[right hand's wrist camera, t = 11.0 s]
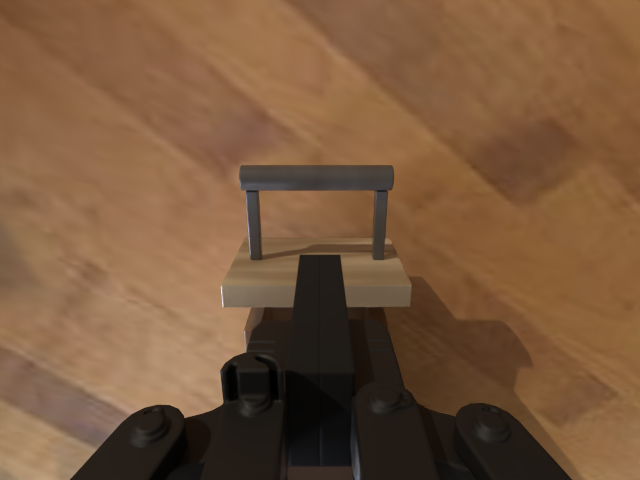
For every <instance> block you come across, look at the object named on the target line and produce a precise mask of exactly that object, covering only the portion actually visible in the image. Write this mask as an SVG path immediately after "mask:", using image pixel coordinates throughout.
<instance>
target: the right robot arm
mask: <svg viewBox="0 0 640 480" xmlns="http://www.w3.org/2000/svg"><path fill="white" fill-rule="evenodd" d="M220 373H221V382H222V391H223V401H224V403H223V405H221V406H220V407H218V408H216V409H214V410H212V411H209V412H206V413H203V414H200V415H196V416H192V417H188V418H184V415H183V414H182V413H181V411H180V410H179V409H177V408H175V407H173V406H170V405H155V406H150V407H146V408H143V409H141V410H139V411H137V412H135V413H133V414H132V415H130V416H129V417H128V418H127V419H126V420H125V421H123V422H122V423H121V424H120V425H119V426H118V428H117V429H116V430H115V431H114V432H113V433H112V434H111V435H110V436H109V437H108V439H107V440H106V441H105V442H104V443H103V444H102V445H101V446H100V447H99V448H98V450H97V451H96V452H95V453H94V454H93V455H92V456H91V457H90V458H89V459H88V461H87V462H86V463H85V464H84V465H83V466H82V467H81V468H80V469H79V471H78V472H77V473H76V474H75V475H74V476H73V477H72V478H71V479H70V480H288V476H287V472H288V466H289V467H351V466H352V470H353V476H352V480H572V479H571V478H570V477H569V476H568V475H567V474H566V472H565V471H564V470H563V469H562V468H561V467H560V466H559V465H558V464H557V463H556V462H555V460H554V459H553V458H552V457H551V456H550V455H549V454H548V453H547V452H546V451H545V449H544V448H543V447H542V446H541V445H540V444H539V443H538V442H537V441H536V440H535V439H534V437H533V436H532V435H531V434H530V433H529V432H528V431H527V430H526V429H525V428H524V426H523V425H522V424H521V423H520V422H519V421H518V420H517V419H515V418H514V417H513V416H512V415H511V414H509V413H508V412H506V411H504V410H502V409H500V408H498V407H496V406H492V405H488V404H484V403H473V404H469V405H466V406H464V407H462V408H461V409H460V410H459V411H458V413H457V414H456V417H455V416H451V415H447V414H443V413H439V412H435V411H432V410H429V409H427V408H425V407H423V406H421V405H420V404H418V403H417V402H416V400H415V398H414V397H413V395H412V393H411V392H409V391H408V390H407V389H406V388H405V386H404V383H403V379H402V376H401V373H400V369H399V366H398V362H397V359H396V355H395V352H394V348H393V345H392V342H391V338H390V334H389V331H388V328H387V327H386V326H385V325H384V324H383V323H382V322H381V321H380V320H379V319H348V312H347V304H346V296H345V288H344V280H343V272H342V264H341V256H340V255H300V256H299V264H298V272H297V280H296V288H295V296H294V304H293V312H292V320H262V321H261V322H260V323H259V324H258V325H257V326H256V327H255V328H254V329H253V330H252V332H251V336H250V339H249V344H248V346H247V350H246V353H243V354H240V355H238V356H235V357H233V358H232V359H230V360H229V361H228V362H226V363H225V364H224V366H223V367H222V369H221V371H220Z"/></svg>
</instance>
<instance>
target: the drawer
mask: <svg viewBox="0 0 640 480" xmlns="http://www.w3.org/2000/svg"><path fill="white" fill-rule="evenodd" d="M239 181H240V187H241V190H243V191H246V205H247V220H248V235H249V238H245V239H244V241H243V243H242V245H241V247H240V249H239V251H238V253H237V255H236V257H235V259H234V261H233V263H232V265H231V267H230V269H229V271H228V273H227V275H226V277H225V278H224V280H223V282H222V284H221V292H222V302H223V307H251V311H250V314H249V317H248V320H247V323H246V326H245V329H244V337H245V350H247V346H248V344H249V339H250V336H251V332H252V330H253V329H254V328H255V327H256V326H257V325H258V324H259V323H260V322H261V321H262V320H292V312H293V304H294V296H295V288H296V280H297V272H298V264H299V256H300V255H340V256H341V264H342V272H343V280H344V288H345V296H346V304H347V312H348V319H379V320H380V321H381V322H382V323H383V324H384V325H385V326H386V327H387V328H388V331H389V334H390V330H389V326H388V323H387V320H386V316H385V313H384V309H383V307H410V306H411V294H412V284H411V282H410V280H409V277H408V275H407V273H406V271H405V269H404V267H403V265H402V263H401V261H400V259H399V257H398V254H397V252H396V250H395V248H394V246H393V244H392V242H391V240H390V238H385V232H386V215H387V198H388V192H387V190H392V188H393V183H394V170H393V166H392V165H242V166H241V167H240V172H239ZM358 190H375V196H374V217H373V238H261V221H260V204H259V191H358Z"/></svg>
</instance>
